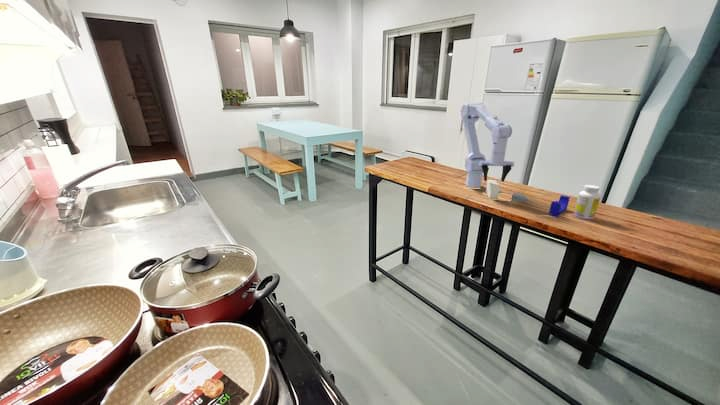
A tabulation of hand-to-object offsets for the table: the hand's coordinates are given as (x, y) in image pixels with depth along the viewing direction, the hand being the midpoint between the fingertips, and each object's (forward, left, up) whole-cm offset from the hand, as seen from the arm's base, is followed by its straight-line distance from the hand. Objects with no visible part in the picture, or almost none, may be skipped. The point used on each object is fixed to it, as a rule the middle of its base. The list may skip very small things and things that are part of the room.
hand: (493, 180), depth 133 cm
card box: (0, 0, -8) cm, 8 cm away
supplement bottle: (+19, +31, -9) cm, 37 cm away
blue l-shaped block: (+15, +22, -9) cm, 28 cm away
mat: (0, +6, -8) cm, 10 cm away
